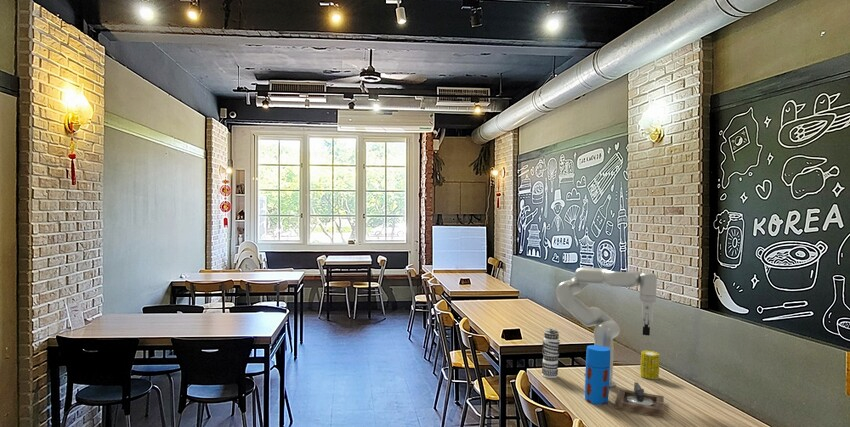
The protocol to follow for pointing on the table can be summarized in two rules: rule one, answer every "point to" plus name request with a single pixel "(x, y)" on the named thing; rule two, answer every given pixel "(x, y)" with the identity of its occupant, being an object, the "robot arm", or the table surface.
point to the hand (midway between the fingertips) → (646, 334)
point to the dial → (639, 396)
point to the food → (649, 364)
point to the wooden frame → (639, 408)
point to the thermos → (597, 374)
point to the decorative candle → (550, 353)
